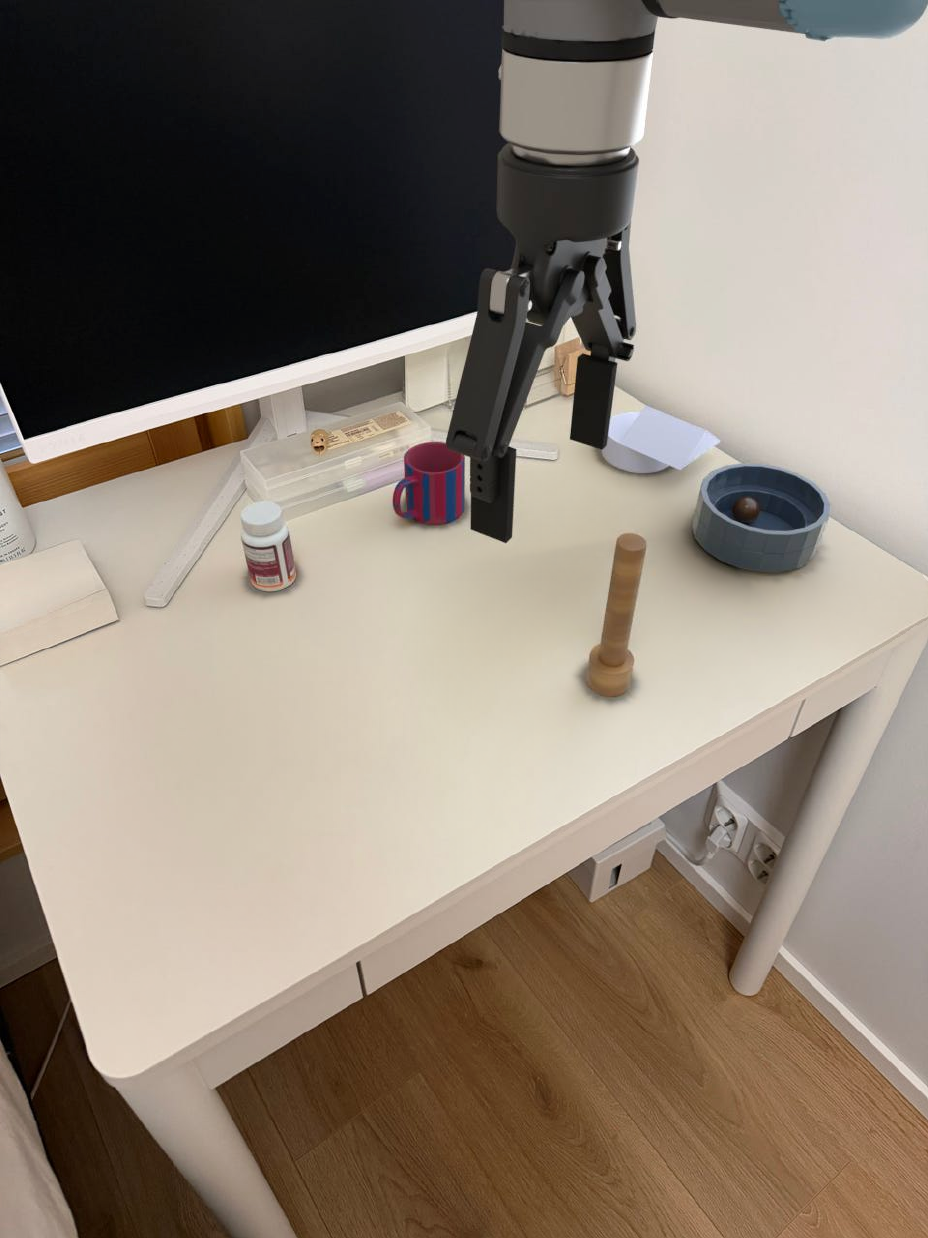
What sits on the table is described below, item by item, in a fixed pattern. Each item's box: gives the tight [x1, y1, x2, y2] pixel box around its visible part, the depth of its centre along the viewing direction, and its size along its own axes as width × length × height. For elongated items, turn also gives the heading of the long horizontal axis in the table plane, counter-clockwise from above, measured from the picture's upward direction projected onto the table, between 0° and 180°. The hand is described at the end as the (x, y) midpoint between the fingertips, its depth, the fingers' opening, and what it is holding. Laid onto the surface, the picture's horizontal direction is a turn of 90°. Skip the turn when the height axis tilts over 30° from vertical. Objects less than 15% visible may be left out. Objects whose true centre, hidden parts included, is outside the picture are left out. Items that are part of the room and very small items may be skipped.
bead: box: [732, 496, 760, 524], centre depth 95 cm, size 3×3×3 cm
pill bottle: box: [239, 500, 297, 592], centre depth 87 cm, size 5×5×8 cm
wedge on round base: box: [601, 404, 722, 474], centre depth 105 cm, size 9×7×13 cm
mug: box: [392, 441, 466, 526], centre depth 96 cm, size 7×10×7 cm
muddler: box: [585, 532, 648, 697], centre depth 73 cm, size 4×4×16 cm
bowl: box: [691, 462, 832, 573], centre depth 93 cm, size 13×13×6 cm
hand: (543, 485), depth 60 cm, fingers open, 13 cm apart
